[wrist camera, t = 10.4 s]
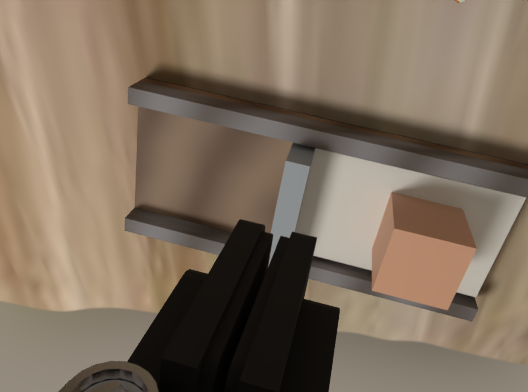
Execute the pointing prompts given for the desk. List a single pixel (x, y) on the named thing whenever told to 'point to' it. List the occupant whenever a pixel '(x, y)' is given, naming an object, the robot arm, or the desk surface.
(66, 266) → the desk surface
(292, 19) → the desk surface
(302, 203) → the white sliding panel
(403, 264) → the terracotta block
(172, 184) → the rail board
